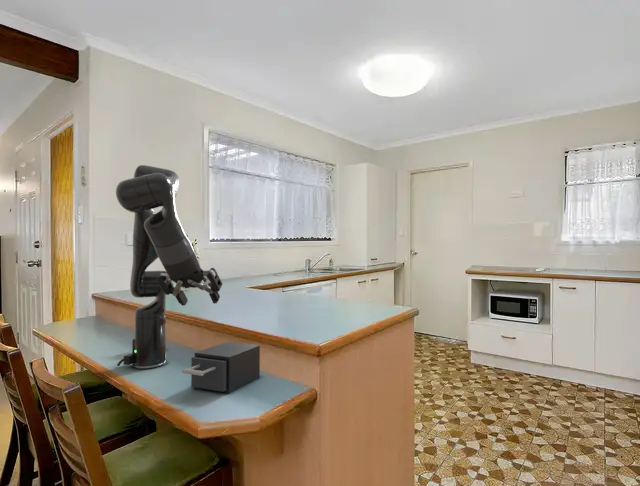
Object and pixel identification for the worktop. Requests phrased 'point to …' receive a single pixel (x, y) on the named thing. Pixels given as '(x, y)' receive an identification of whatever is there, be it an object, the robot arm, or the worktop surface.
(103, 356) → the worktop surface
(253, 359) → the dark grey drawer box
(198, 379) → the dark grey drawer
